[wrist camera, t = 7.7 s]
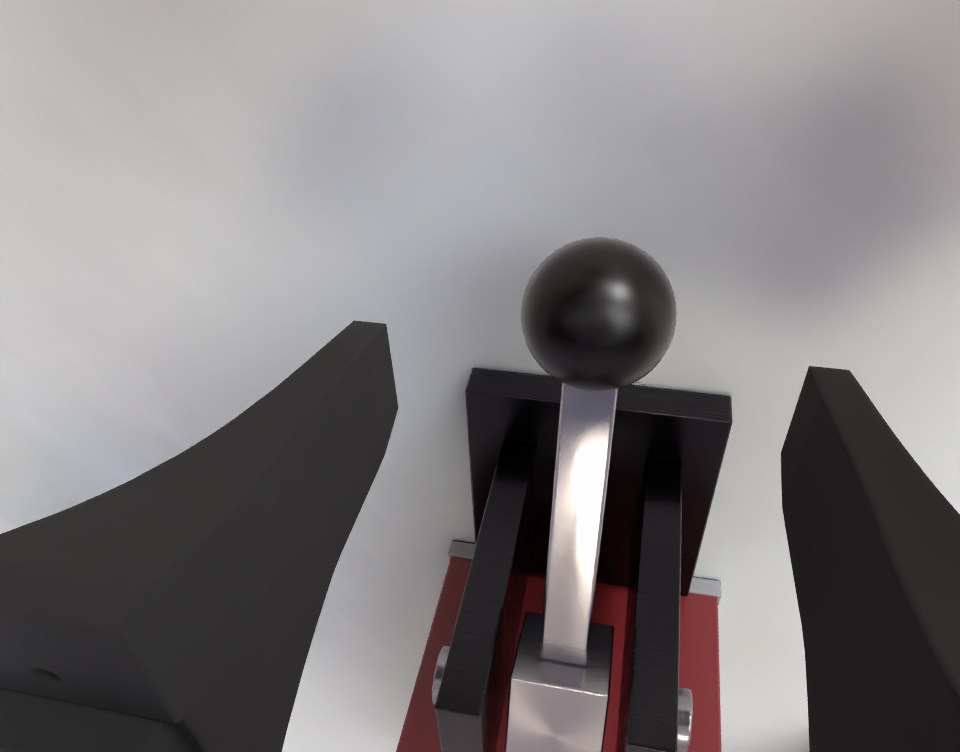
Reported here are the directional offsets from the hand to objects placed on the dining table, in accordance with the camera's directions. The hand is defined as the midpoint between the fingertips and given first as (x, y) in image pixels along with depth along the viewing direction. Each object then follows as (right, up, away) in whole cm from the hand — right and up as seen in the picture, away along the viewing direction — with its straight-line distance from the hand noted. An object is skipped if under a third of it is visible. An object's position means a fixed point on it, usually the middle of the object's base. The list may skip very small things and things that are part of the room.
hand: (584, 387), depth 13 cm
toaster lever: (+1, -3, +5) cm, 5 cm away
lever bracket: (+1, -3, +10) cm, 11 cm away
